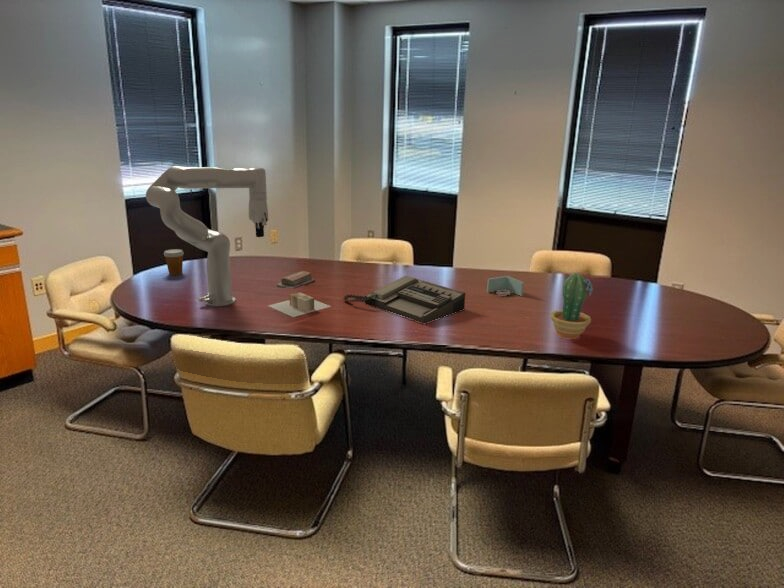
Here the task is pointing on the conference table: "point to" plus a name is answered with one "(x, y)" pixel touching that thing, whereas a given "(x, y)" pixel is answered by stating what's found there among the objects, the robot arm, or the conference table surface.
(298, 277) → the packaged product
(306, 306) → the maple block
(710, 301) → the conference table surface
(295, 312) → the mat
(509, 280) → the l-shaped corner panel
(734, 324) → the conference table surface
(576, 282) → the potted cactus
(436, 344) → the conference table surface
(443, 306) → the fax machine
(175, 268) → the disposable coffee cup
